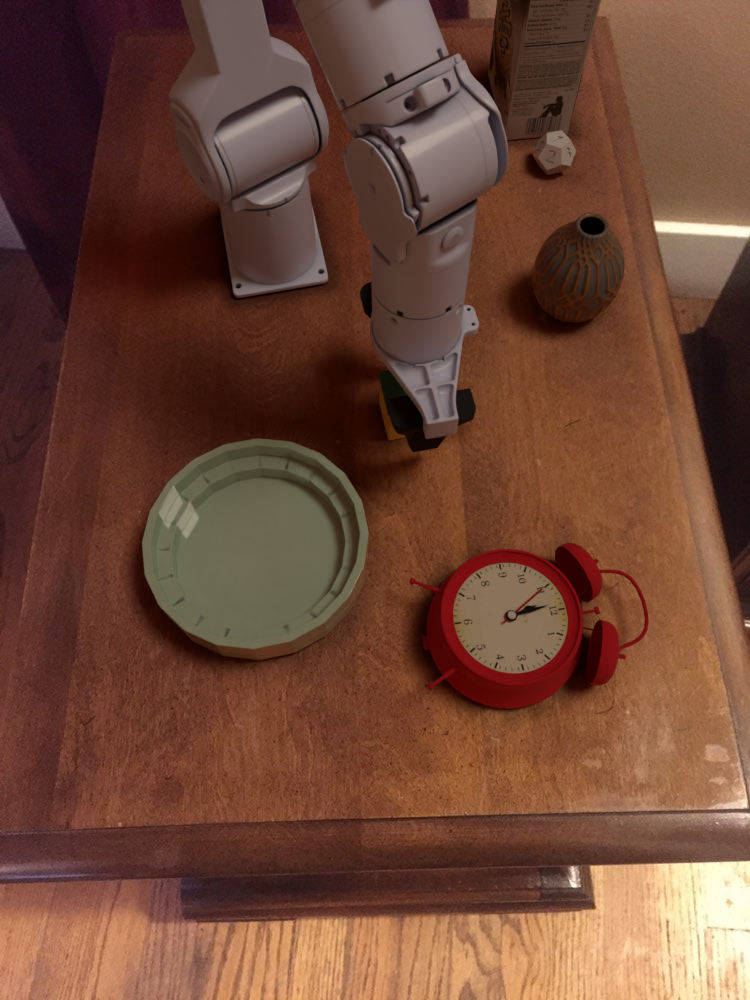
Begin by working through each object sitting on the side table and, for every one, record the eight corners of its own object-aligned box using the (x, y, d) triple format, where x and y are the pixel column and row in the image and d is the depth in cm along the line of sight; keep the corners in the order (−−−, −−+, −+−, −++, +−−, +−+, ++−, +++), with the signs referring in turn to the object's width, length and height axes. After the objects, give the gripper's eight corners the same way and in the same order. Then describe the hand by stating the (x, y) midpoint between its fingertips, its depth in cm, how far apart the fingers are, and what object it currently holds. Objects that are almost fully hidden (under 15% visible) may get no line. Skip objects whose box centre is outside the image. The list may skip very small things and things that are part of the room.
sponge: (388, 441, 62) (388, 410, 58) (379, 403, 64) (378, 371, 60) (452, 429, 63) (456, 397, 58) (441, 392, 64) (445, 358, 60)
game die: (523, 161, 74) (528, 134, 71) (556, 146, 75) (562, 118, 72) (545, 186, 73) (551, 159, 70) (579, 170, 74) (586, 143, 71)
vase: (607, 342, 66) (637, 268, 58) (521, 329, 66) (539, 253, 58) (614, 275, 69) (643, 196, 61) (532, 263, 69) (550, 183, 61)
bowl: (147, 482, 61) (134, 460, 58) (347, 445, 62) (344, 421, 59) (166, 681, 55) (152, 669, 52) (388, 636, 56) (388, 621, 53)
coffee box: (485, 75, 79) (506, -108, 64) (550, 69, 79) (587, -115, 65) (501, 143, 75) (528, -35, 61) (570, 136, 75) (614, -43, 61)
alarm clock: (398, 556, 54) (626, 502, 52) (417, 583, 60) (622, 536, 58) (427, 713, 50) (676, 663, 48) (443, 726, 56) (667, 682, 53)
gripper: (516, 368, 46) (490, 476, 58) (455, 182, 52) (442, 315, 64) (394, 391, 46) (393, 495, 58) (346, 200, 52) (354, 331, 64)
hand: (413, 401), depth 61 cm, fingers open, 7 cm apart
